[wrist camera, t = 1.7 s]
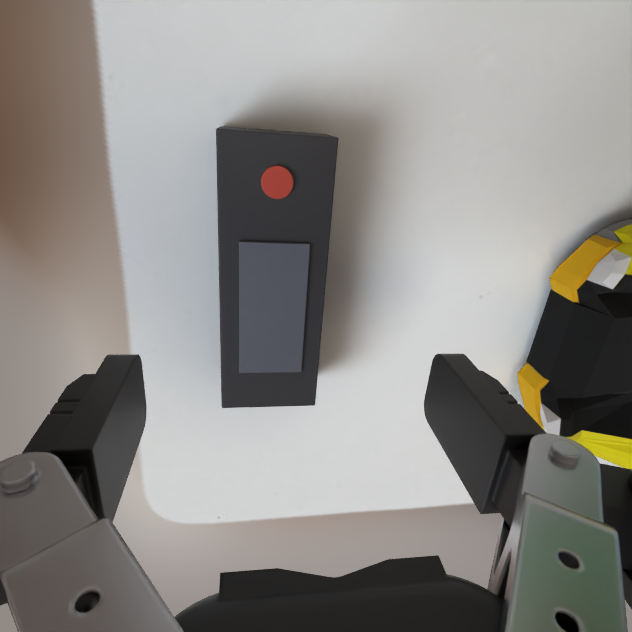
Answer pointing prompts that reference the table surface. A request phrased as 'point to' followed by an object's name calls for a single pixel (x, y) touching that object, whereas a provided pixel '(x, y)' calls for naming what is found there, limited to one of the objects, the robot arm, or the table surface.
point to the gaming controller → (587, 349)
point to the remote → (272, 262)
